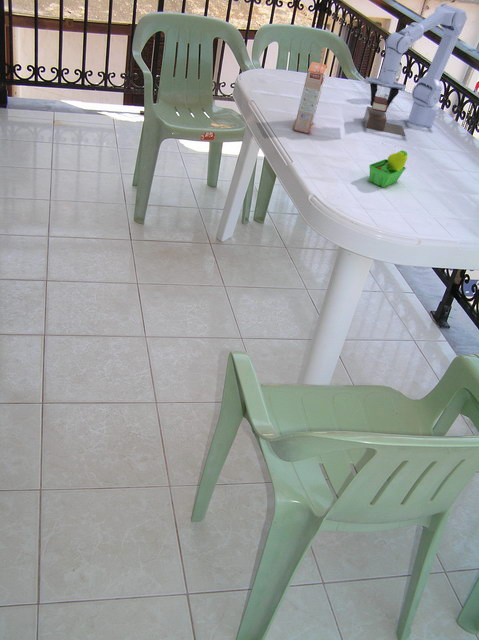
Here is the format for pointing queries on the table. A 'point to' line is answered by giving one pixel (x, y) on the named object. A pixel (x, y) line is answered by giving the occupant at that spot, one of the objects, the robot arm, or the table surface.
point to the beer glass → (385, 91)
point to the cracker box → (310, 97)
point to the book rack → (381, 122)
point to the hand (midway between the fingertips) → (378, 106)
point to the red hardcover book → (380, 104)
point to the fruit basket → (388, 169)
